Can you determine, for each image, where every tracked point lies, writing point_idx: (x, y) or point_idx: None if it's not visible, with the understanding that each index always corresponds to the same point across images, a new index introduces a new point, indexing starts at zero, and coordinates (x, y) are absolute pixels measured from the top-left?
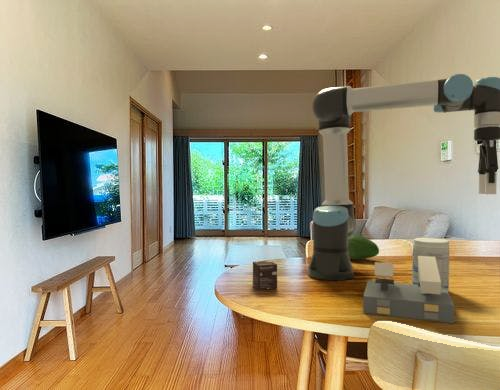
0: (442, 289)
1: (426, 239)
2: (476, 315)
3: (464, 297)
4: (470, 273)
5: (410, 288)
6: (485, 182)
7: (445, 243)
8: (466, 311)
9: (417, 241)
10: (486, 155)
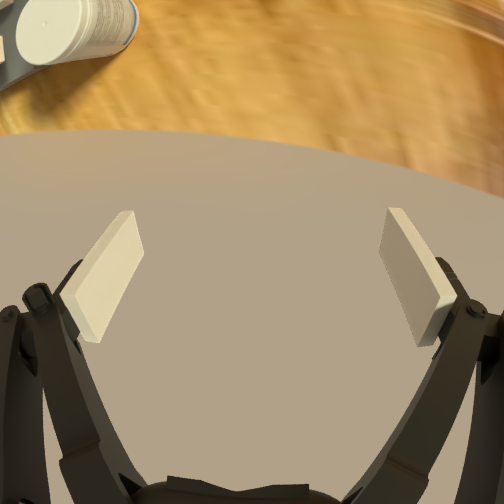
0: (20, 70)
1: (48, 12)
2: (21, 113)
3: (90, 85)
4: (335, 99)
5: (7, 33)
6: (403, 285)
7: (29, 62)
8: (28, 100)
9: (25, 5)
10: (65, 450)
